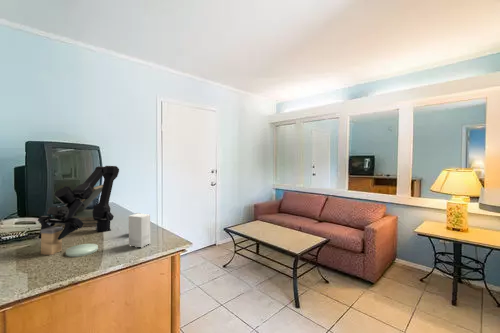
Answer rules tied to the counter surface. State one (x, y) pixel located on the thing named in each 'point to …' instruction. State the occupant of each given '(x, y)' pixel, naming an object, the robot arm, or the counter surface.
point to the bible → (87, 215)
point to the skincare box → (139, 230)
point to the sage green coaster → (81, 250)
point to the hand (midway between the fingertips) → (48, 238)
